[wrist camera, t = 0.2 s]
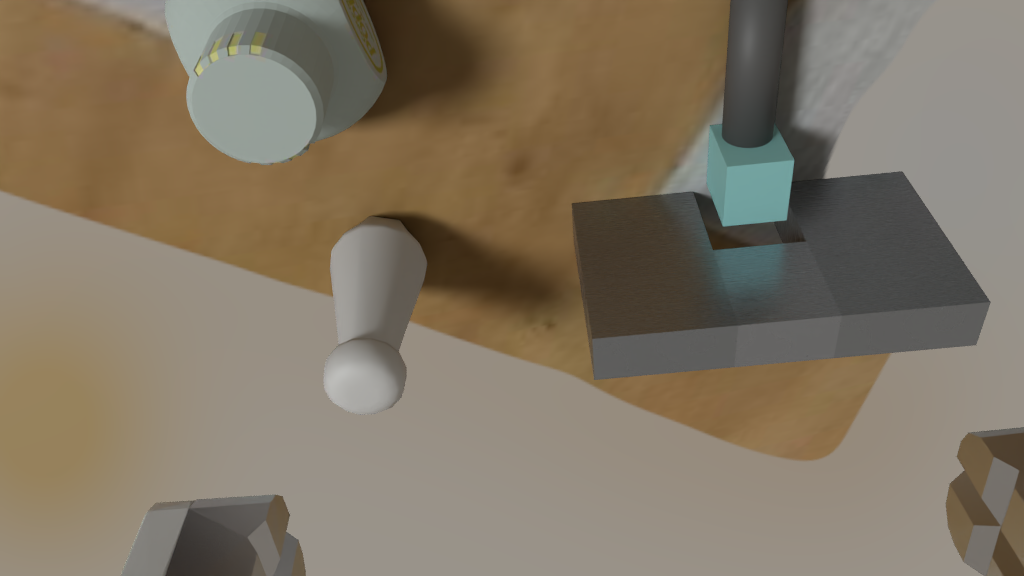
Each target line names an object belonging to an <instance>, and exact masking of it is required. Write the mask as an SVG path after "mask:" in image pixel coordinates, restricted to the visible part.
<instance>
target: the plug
mask: <svg viewBox="0 0 1024 576" xmlns="http://www.w3.org/2000/svg"><path fill="white" fill-rule="evenodd" d="M787 3H788V0H731V3H730V18H729V33H728V48H727V63H726V78H725V93H724V108H723V123H722V124H720V125H710V133H709V151H708V169H707V186H708V188H709V191H710V194H711V196H712V199H713V202H714V204H715V207H716V210H717V212H718V215H719V218H720V220H721V223H722V226H723V227H724V226H734V225H744V224H754V223H764V222H774V221H784V220H787V213H788V205H789V198H790V190H791V182H792V175H793V167H794V158H793V156H792V155H791V153H790V151H789V149H788V147H787V145H786V143H785V141H784V139H783V138H782V136H781V134H780V132H779V130H778V128H777V126H776V124H775V123H774V122H775V113H776V104H777V95H778V85H779V76H780V67H781V58H782V49H783V40H784V31H785V22H786V12H787Z"/></svg>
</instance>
